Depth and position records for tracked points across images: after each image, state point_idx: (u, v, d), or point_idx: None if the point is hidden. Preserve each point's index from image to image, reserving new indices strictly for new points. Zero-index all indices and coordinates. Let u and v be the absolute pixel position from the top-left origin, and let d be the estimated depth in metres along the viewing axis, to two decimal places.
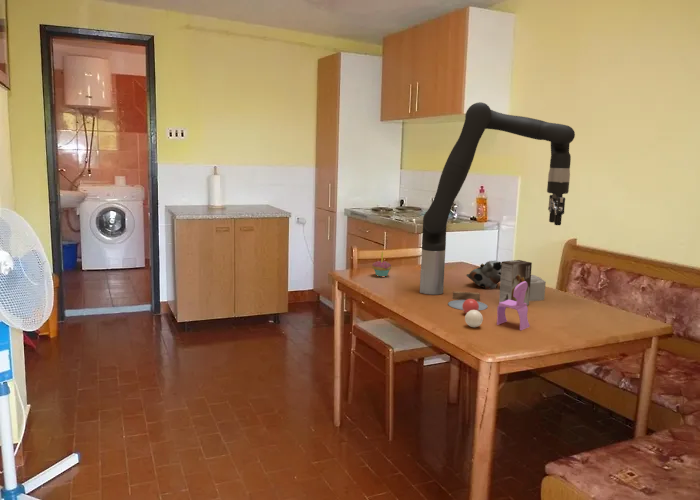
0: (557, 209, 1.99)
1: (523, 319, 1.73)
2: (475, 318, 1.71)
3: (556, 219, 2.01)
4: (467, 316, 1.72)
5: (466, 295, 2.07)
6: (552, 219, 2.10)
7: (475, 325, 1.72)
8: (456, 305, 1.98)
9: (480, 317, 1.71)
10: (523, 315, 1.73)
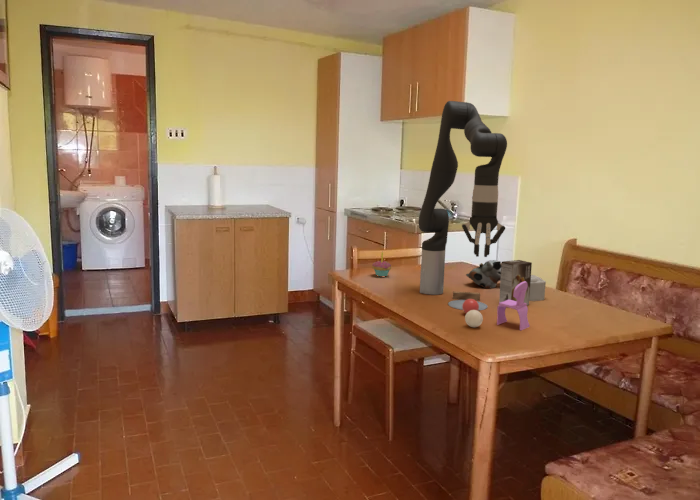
0: None
1: (523, 319, 1.73)
2: (475, 318, 1.71)
3: (488, 250, 1.68)
4: (467, 316, 1.72)
5: (466, 295, 2.07)
6: (478, 252, 1.69)
7: (475, 325, 1.72)
8: (456, 305, 1.98)
9: (480, 317, 1.71)
10: (523, 315, 1.73)
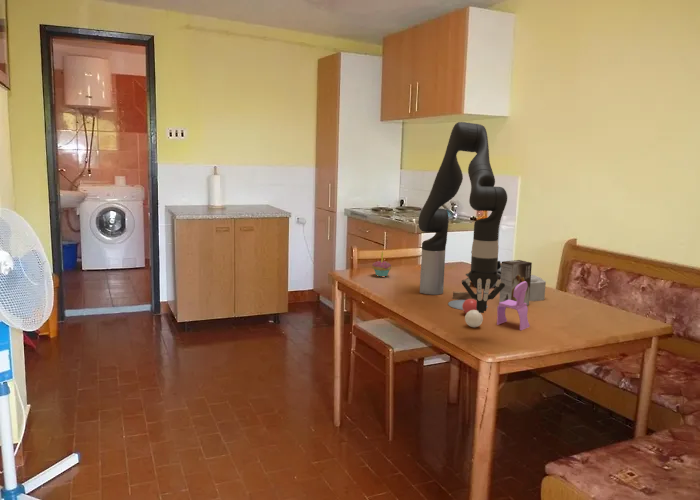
0: None
1: (523, 319, 1.73)
2: (475, 318, 1.71)
3: (485, 306, 1.62)
4: (467, 316, 1.72)
5: (466, 295, 2.07)
6: None
7: (475, 325, 1.72)
8: (456, 305, 1.98)
9: (480, 317, 1.71)
10: (523, 315, 1.73)
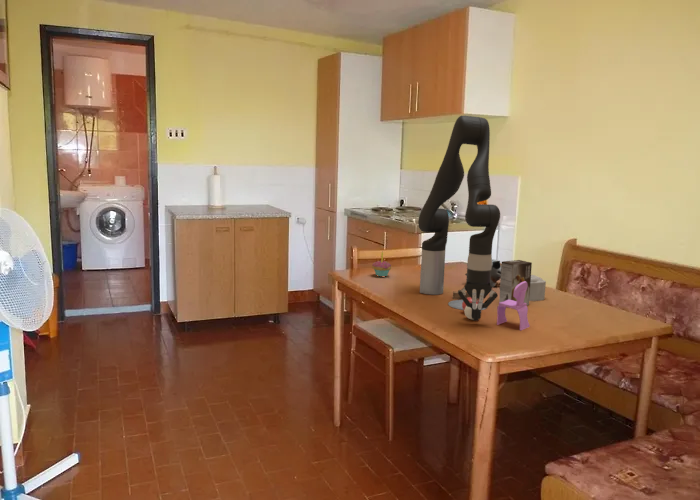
0: None
1: (523, 319, 1.73)
2: None
3: (479, 314, 1.75)
4: None
5: (466, 295, 2.07)
6: None
7: None
8: (456, 305, 1.98)
9: None
10: (523, 315, 1.73)
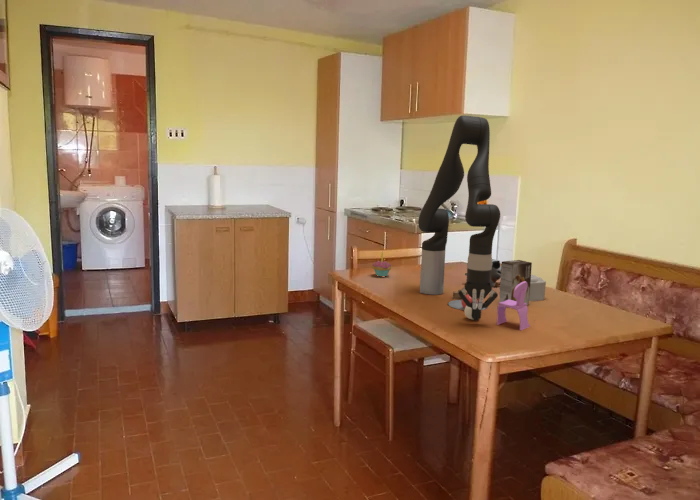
0: None
1: (523, 319, 1.73)
2: None
3: (479, 314, 1.75)
4: None
5: None
6: (476, 316, 1.76)
7: None
8: (456, 305, 1.98)
9: None
10: (523, 315, 1.73)
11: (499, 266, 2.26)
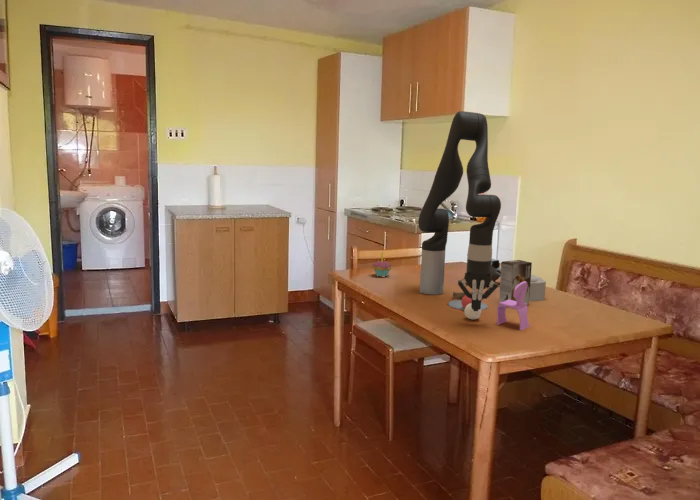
0: None
1: (523, 319, 1.73)
2: None
3: (479, 304, 1.75)
4: None
5: None
6: None
7: None
8: (456, 305, 1.98)
9: None
10: (523, 315, 1.73)
11: (498, 266, 2.27)
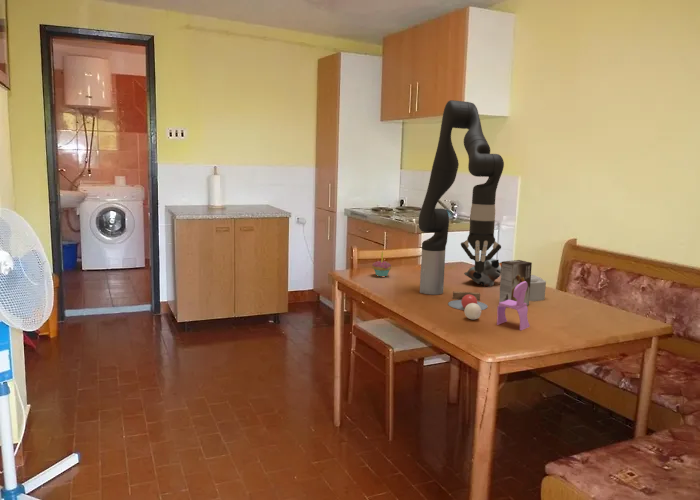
0: None
1: (523, 319, 1.73)
2: None
3: (482, 266, 1.73)
4: None
5: None
6: (479, 269, 1.73)
7: None
8: (456, 305, 1.98)
9: None
10: (523, 315, 1.73)
11: (498, 265, 2.28)
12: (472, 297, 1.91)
